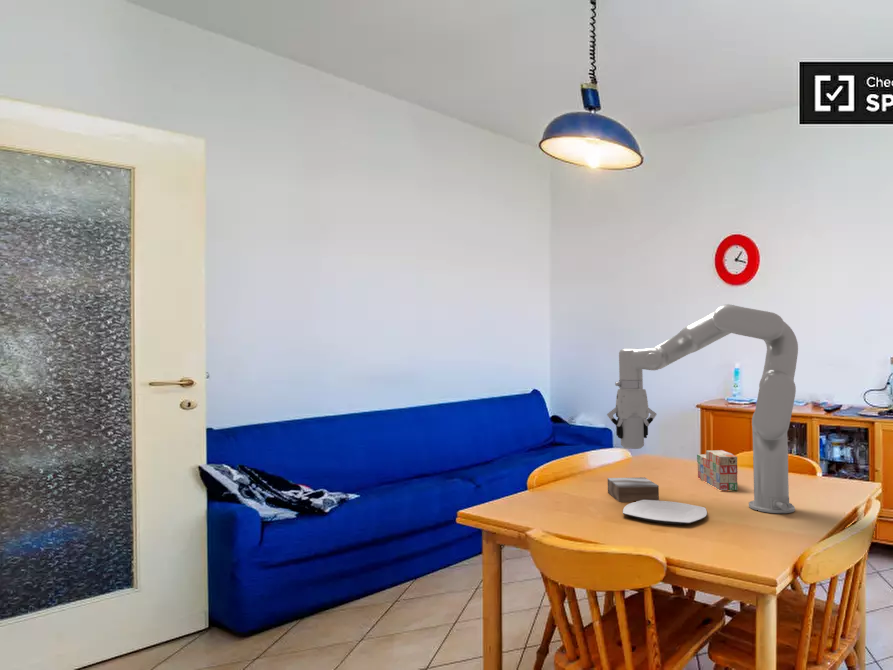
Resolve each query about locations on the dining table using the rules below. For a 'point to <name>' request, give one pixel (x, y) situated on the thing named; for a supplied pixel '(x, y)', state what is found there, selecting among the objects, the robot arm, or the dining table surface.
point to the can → (633, 432)
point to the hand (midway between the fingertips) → (632, 437)
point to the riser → (633, 489)
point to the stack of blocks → (718, 469)
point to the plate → (665, 511)
